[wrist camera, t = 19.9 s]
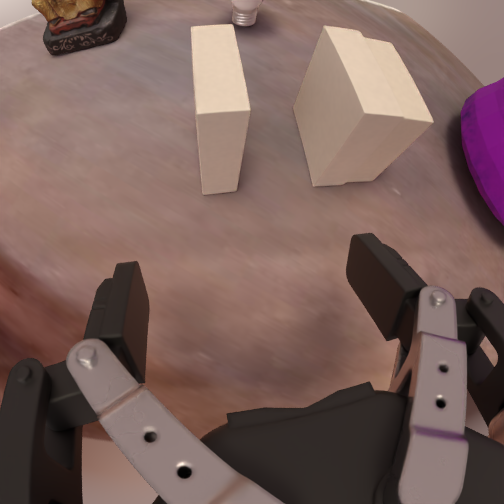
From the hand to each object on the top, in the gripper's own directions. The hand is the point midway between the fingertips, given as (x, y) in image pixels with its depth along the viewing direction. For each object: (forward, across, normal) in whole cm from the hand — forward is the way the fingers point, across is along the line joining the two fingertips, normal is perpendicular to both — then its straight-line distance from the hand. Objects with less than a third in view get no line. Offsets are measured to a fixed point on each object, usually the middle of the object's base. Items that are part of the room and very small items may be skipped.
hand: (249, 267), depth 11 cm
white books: (+16, -10, 0) cm, 19 cm away
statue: (+30, +13, -15) cm, 36 cm away
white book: (+15, 0, 0) cm, 16 cm away
